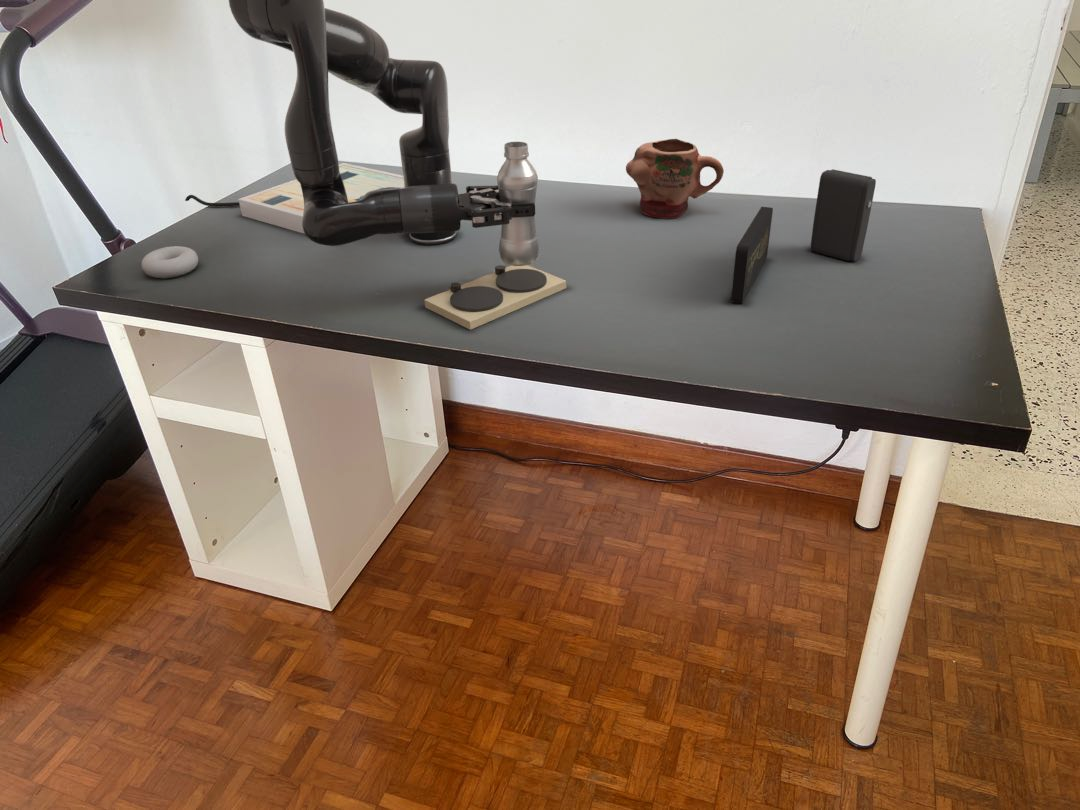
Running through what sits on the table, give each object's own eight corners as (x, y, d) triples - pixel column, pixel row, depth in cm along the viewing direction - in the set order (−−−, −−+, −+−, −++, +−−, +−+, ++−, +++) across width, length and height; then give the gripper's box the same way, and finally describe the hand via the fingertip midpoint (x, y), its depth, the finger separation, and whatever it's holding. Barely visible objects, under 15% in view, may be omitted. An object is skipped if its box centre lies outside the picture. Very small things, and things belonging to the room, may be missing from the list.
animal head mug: (721, 204, 180) (727, 138, 172) (718, 224, 170) (724, 155, 162) (628, 199, 184) (630, 135, 177) (620, 219, 174) (621, 151, 167)
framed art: (335, 225, 165) (238, 198, 181) (338, 243, 167) (242, 215, 183) (439, 183, 186) (343, 162, 201) (440, 199, 188) (346, 178, 203)
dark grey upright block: (864, 257, 154) (880, 176, 146) (854, 264, 151) (869, 182, 143) (818, 245, 159) (830, 166, 151) (807, 252, 157) (819, 172, 149)
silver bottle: (498, 256, 146) (493, 139, 135) (537, 255, 146) (535, 138, 136) (500, 271, 140) (495, 150, 130) (540, 269, 141) (538, 149, 130)
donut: (176, 284, 153) (211, 262, 161) (171, 267, 151) (207, 245, 159) (132, 278, 156) (168, 257, 164) (126, 261, 154) (163, 240, 162)
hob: (425, 307, 141) (423, 292, 140) (520, 269, 154) (519, 255, 152) (470, 330, 134) (469, 314, 133) (566, 288, 146) (566, 274, 145)
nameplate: (741, 305, 138) (748, 248, 133) (730, 303, 139) (736, 246, 134) (766, 258, 155) (773, 206, 149) (756, 257, 155) (762, 204, 150)
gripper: (429, 200, 128) (538, 193, 130) (426, 172, 140) (525, 166, 142) (433, 247, 132) (539, 239, 134) (430, 216, 144) (527, 210, 146)
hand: (531, 202), depth 138 cm, fingers closed on silver bottle, 6 cm apart
